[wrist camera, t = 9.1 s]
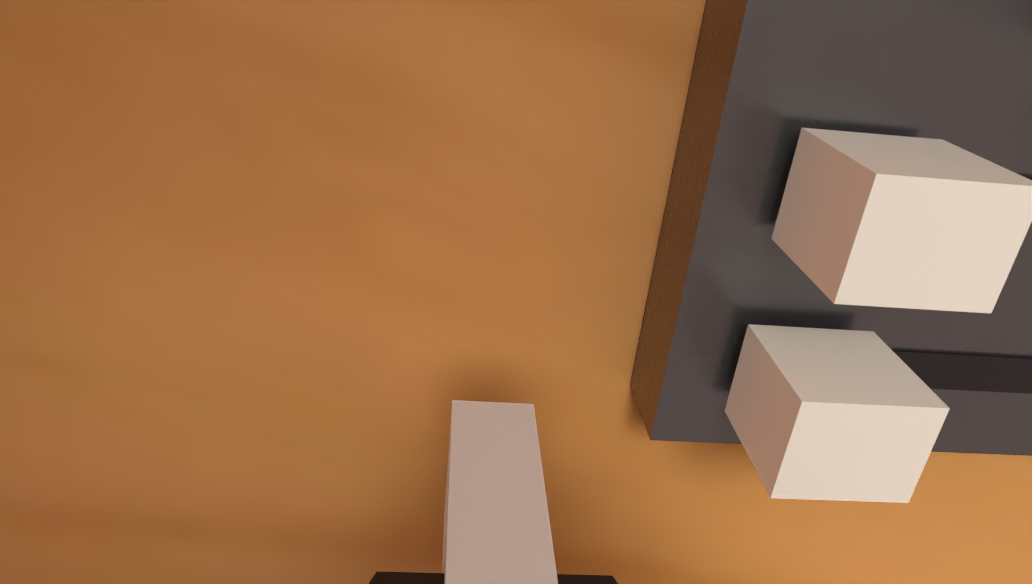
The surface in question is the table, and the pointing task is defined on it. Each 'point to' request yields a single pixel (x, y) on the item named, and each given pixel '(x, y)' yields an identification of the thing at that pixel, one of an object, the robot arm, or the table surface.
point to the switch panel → (761, 184)
